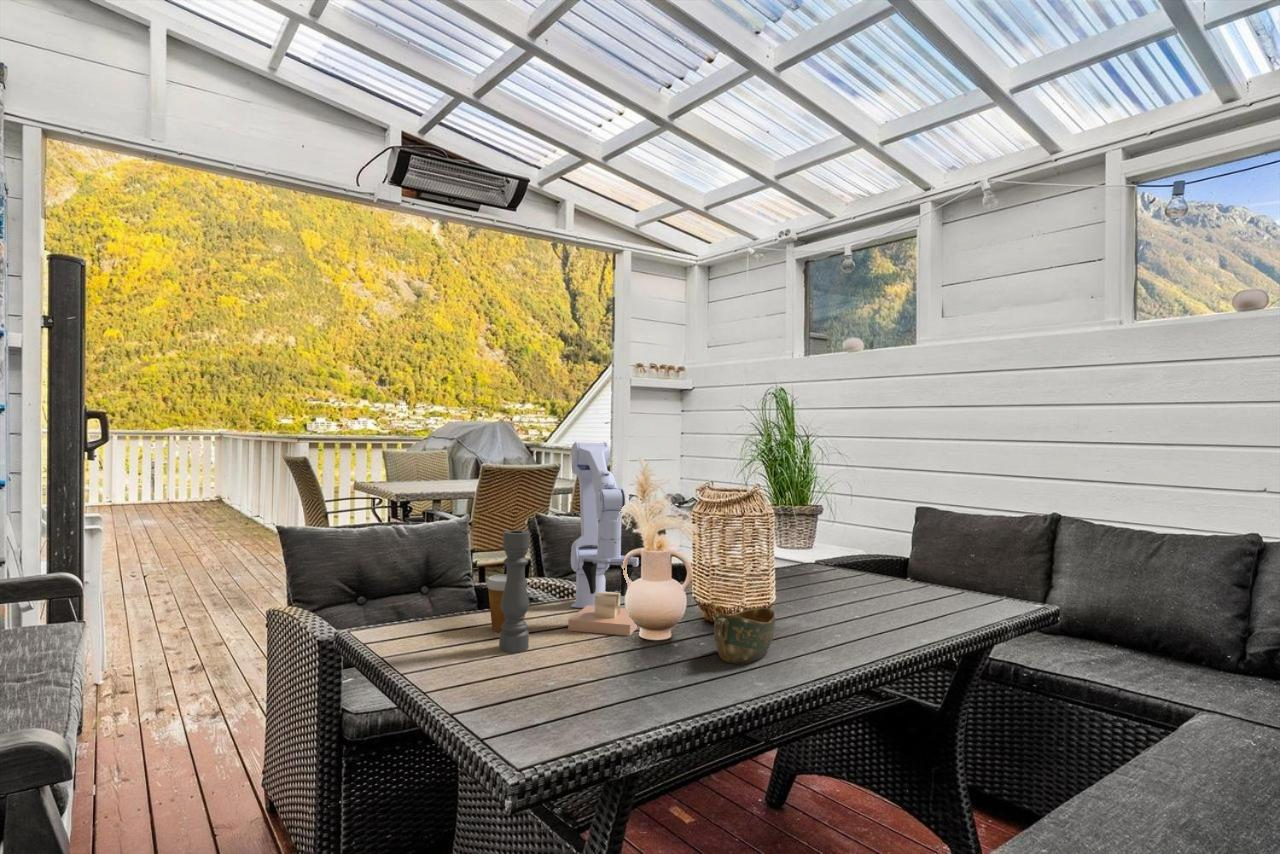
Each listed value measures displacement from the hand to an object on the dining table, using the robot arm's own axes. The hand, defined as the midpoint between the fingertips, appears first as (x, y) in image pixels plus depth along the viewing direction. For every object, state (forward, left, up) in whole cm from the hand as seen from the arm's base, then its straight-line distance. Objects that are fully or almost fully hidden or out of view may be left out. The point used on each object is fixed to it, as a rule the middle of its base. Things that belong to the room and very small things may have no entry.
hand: (607, 594), depth 178 cm
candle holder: (+25, -14, -8) cm, 29 cm away
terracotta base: (0, 0, -8) cm, 8 cm away
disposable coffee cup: (+11, -22, -8) cm, 26 cm away
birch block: (0, 0, -5) cm, 5 cm away
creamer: (+15, +34, -8) cm, 38 cm away
